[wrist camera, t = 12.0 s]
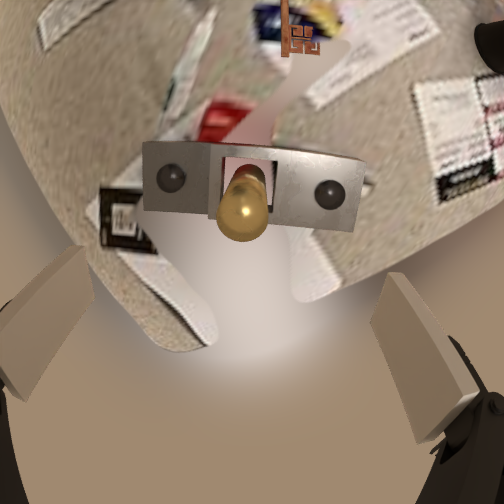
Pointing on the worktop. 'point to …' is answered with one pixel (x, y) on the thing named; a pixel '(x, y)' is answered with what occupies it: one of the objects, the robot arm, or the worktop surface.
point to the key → (296, 32)
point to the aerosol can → (491, 44)
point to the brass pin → (244, 205)
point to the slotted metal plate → (285, 183)
